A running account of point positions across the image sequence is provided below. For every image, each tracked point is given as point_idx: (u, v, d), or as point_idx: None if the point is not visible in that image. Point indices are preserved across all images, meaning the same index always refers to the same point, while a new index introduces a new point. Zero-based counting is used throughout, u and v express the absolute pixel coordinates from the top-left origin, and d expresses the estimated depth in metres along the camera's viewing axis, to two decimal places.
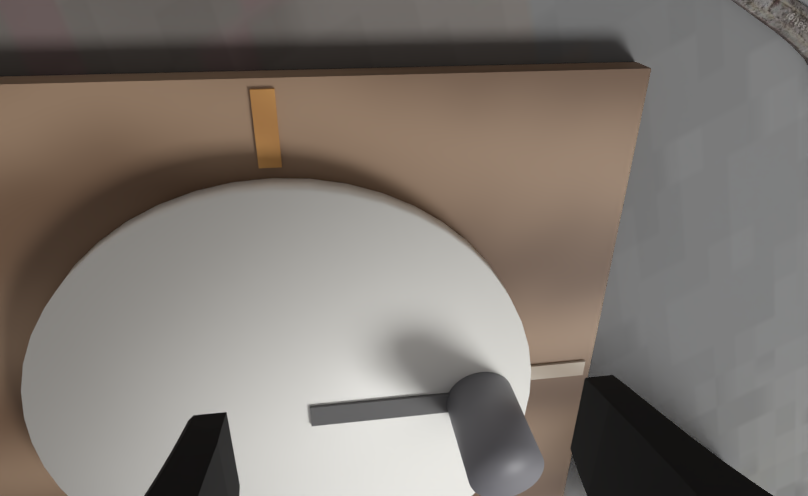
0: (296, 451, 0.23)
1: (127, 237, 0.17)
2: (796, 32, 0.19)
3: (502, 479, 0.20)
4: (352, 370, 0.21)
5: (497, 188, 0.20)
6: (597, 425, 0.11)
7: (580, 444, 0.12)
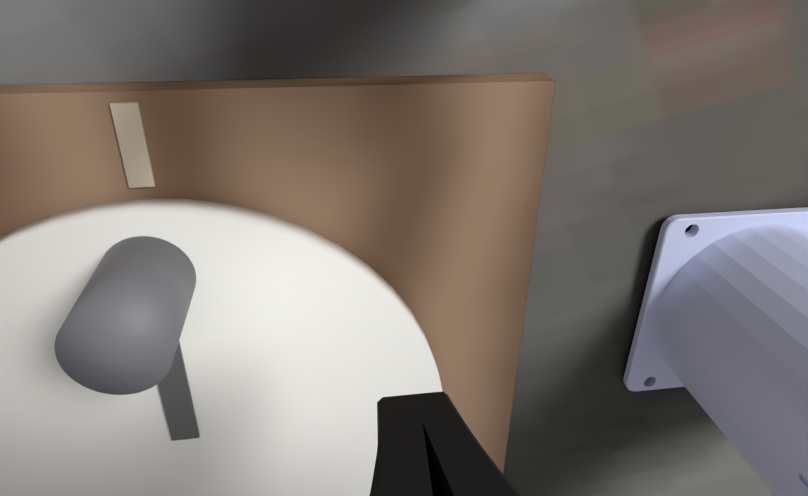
0: (242, 445, 0.21)
1: None
2: None
3: (130, 355, 0.14)
4: (115, 407, 0.19)
5: None
6: None
7: None
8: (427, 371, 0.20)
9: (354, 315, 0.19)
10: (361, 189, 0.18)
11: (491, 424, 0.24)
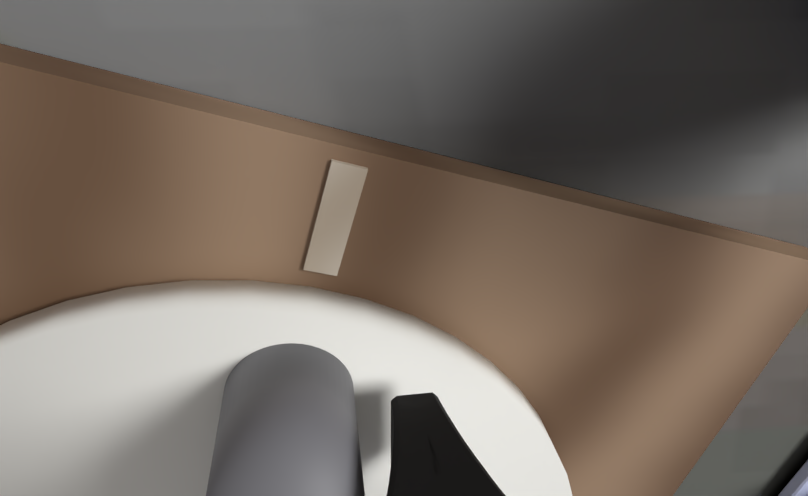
0: None
1: None
2: None
3: None
4: None
5: None
6: None
7: None
8: None
9: (513, 480, 0.14)
10: (575, 334, 0.14)
11: None
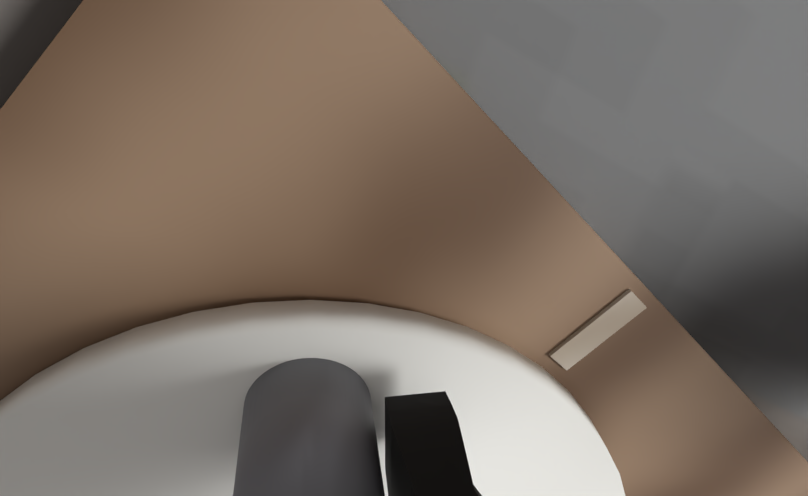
0: None
1: None
2: None
3: None
4: None
5: (228, 210, 0.11)
6: (390, 447, 0.11)
7: (386, 466, 0.12)
8: None
9: (552, 460, 0.14)
10: (669, 476, 0.17)
11: None
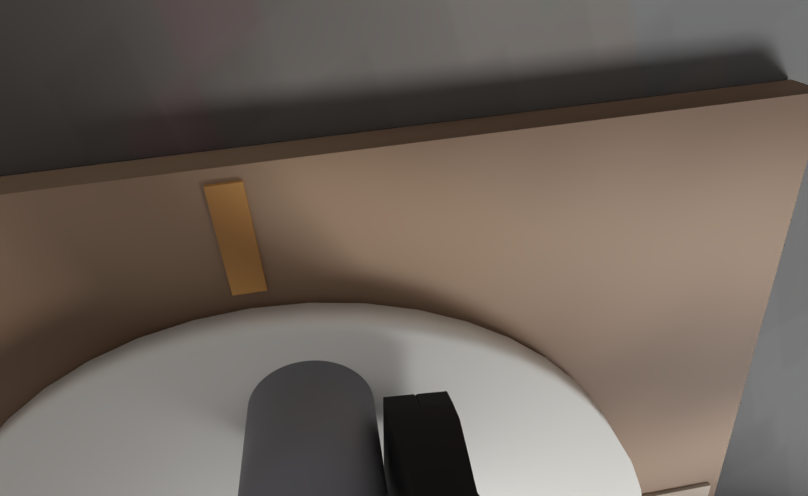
0: None
1: None
2: None
3: None
4: None
5: (589, 284, 0.13)
6: (388, 447, 0.11)
7: (385, 466, 0.12)
8: None
9: (561, 451, 0.14)
10: None
11: None
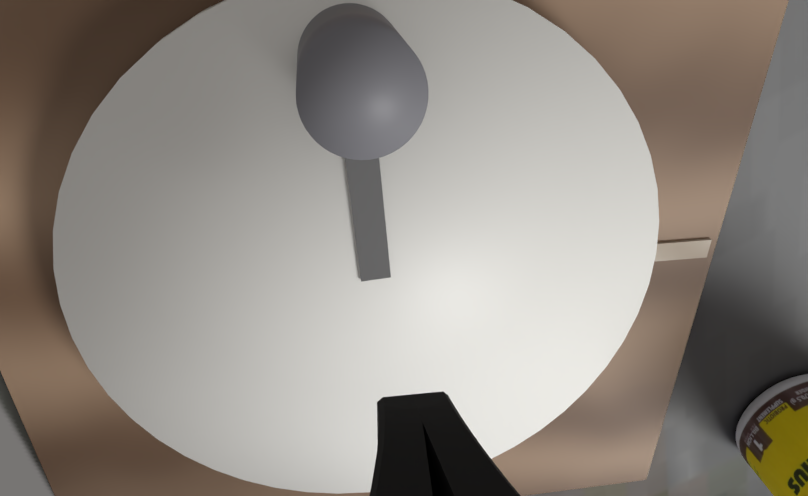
0: (435, 287, 0.18)
1: (156, 433, 0.19)
2: None
3: (380, 100, 0.12)
4: (302, 239, 0.17)
5: None
6: None
7: None
8: (644, 185, 0.18)
9: (572, 108, 0.16)
10: (601, 390, 0.23)
11: None
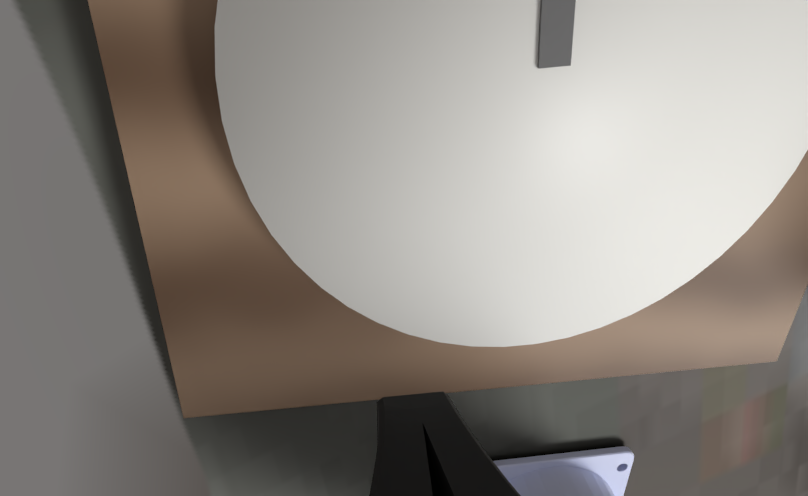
0: (613, 84, 0.17)
1: (294, 254, 0.18)
2: None
3: None
4: (484, 9, 0.15)
5: None
6: None
7: None
8: None
9: None
10: (748, 246, 0.22)
11: (462, 376, 0.23)
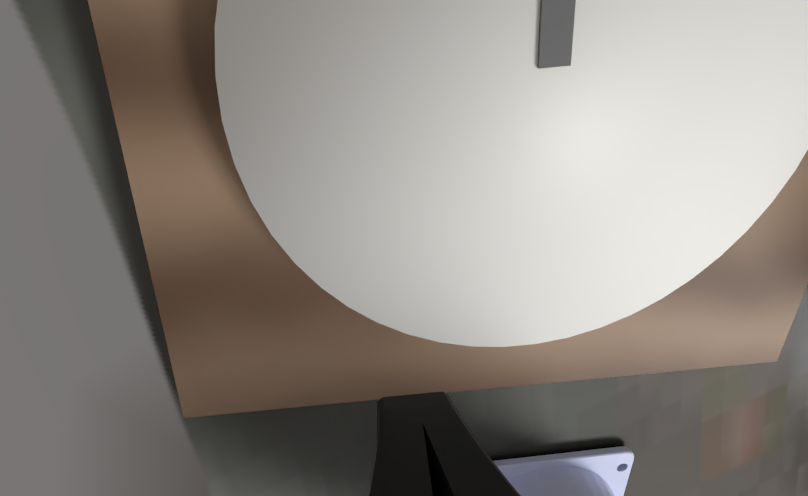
0: (613, 84, 0.17)
1: (294, 254, 0.18)
2: None
3: None
4: (484, 9, 0.15)
5: None
6: None
7: None
8: None
9: None
10: (748, 246, 0.22)
11: (462, 376, 0.23)
